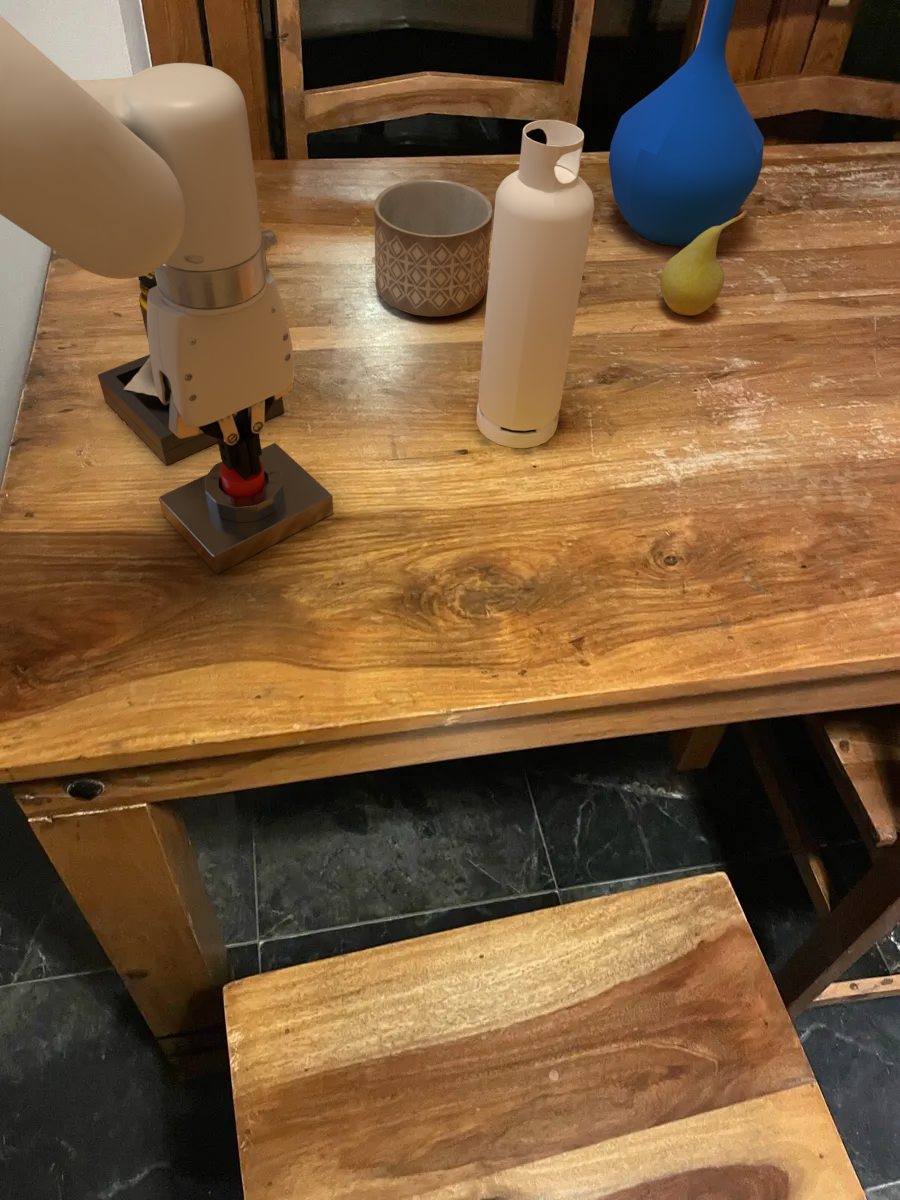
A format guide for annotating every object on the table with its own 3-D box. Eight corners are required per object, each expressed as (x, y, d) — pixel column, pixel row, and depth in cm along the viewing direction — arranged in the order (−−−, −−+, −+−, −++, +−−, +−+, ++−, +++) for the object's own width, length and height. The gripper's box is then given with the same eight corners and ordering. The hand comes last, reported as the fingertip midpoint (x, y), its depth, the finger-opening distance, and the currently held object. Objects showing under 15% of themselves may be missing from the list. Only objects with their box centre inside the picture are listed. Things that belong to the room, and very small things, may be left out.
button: (237, 504, 78) (234, 489, 77) (214, 481, 80) (211, 466, 79) (273, 486, 80) (271, 471, 79) (250, 464, 82) (248, 449, 80)
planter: (404, 335, 102) (405, 246, 94) (357, 278, 109) (355, 190, 101) (505, 309, 106) (514, 222, 98) (453, 256, 113) (458, 170, 105)
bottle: (516, 386, 97) (551, 102, 76) (573, 425, 93) (627, 137, 72) (459, 418, 93) (479, 127, 72) (516, 459, 89) (555, 166, 68)
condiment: (207, 408, 87) (186, 292, 78) (123, 390, 88) (93, 274, 79) (238, 364, 92) (222, 250, 83) (158, 348, 93) (133, 233, 84)
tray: (166, 466, 86) (160, 439, 84) (105, 401, 92) (97, 374, 90) (284, 412, 92) (281, 386, 90) (219, 355, 98) (215, 328, 95)
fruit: (648, 293, 110) (672, 194, 101) (710, 293, 111) (739, 194, 101) (662, 326, 106) (688, 225, 96) (726, 325, 106) (758, 224, 97)
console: (216, 574, 78) (210, 541, 75) (162, 515, 82) (153, 481, 79) (333, 513, 83) (331, 480, 80) (277, 460, 88) (273, 426, 85)
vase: (760, 262, 116) (850, -14, 93) (617, 266, 113) (674, -15, 91) (713, 191, 127) (783, -69, 105) (583, 194, 125) (625, -72, 102)
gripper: (271, 214, 70) (291, 411, 84) (84, 279, 63) (141, 480, 77) (330, 257, 66) (341, 454, 80) (139, 330, 60) (188, 531, 74)
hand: (243, 466), depth 79 cm, fingers closed
